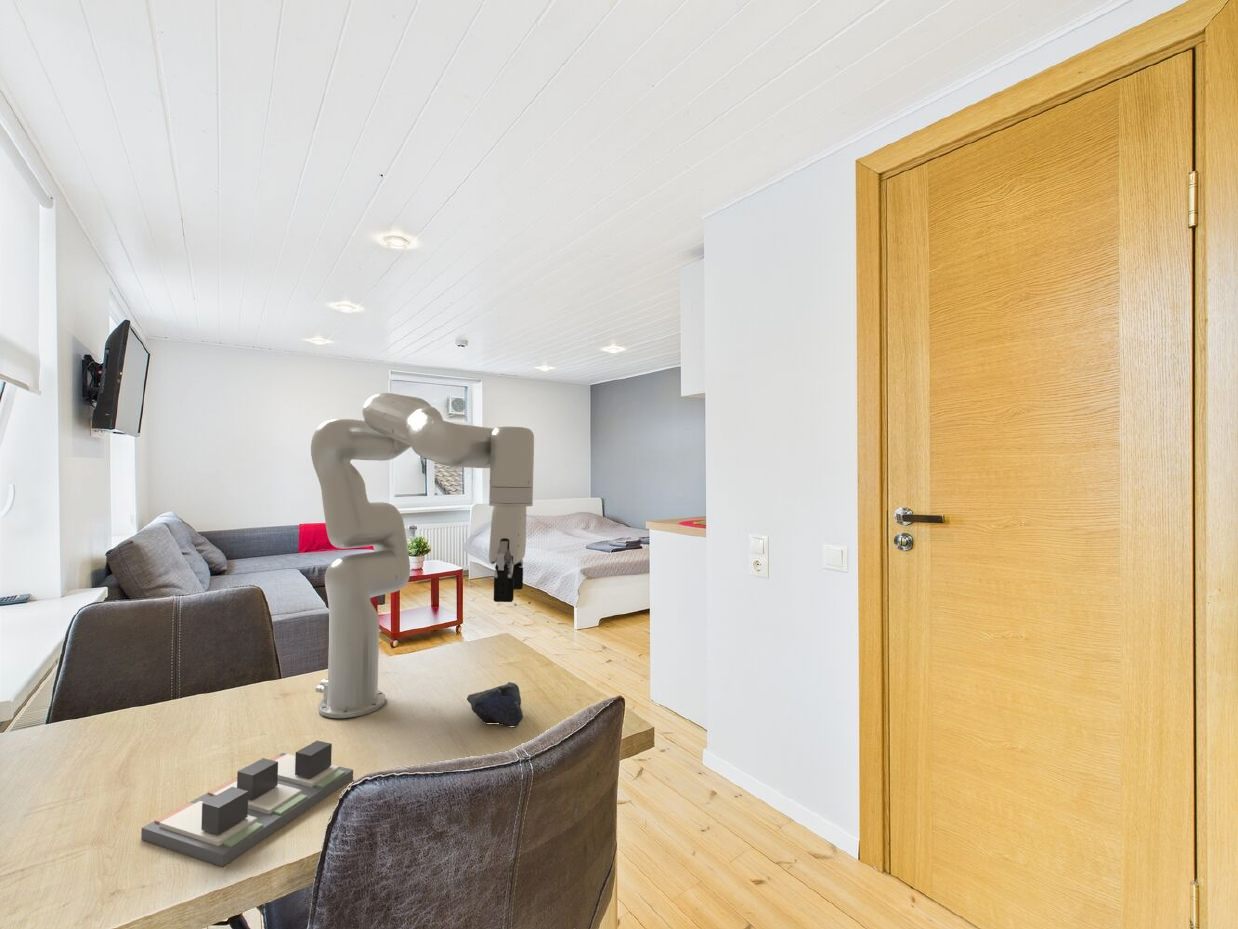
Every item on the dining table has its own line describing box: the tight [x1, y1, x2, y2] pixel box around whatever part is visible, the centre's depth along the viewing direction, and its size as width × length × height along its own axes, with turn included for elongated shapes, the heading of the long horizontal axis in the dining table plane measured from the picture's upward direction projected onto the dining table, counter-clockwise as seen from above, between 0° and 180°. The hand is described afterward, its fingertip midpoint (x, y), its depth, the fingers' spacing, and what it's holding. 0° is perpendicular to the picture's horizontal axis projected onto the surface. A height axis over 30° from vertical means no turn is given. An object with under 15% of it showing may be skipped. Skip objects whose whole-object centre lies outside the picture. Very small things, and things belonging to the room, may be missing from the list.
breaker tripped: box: [236, 757, 278, 800], centre depth 81 cm, size 3×4×4 cm
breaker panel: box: [140, 752, 354, 868], centre depth 81 cm, size 15×21×2 cm
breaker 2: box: [294, 740, 333, 779], centre depth 87 cm, size 3×4×4 cm
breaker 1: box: [201, 787, 248, 835], centre depth 74 cm, size 3×4×4 cm
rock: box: [466, 681, 524, 727], centre depth 111 cm, size 16×8×10 cm
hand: (508, 595), depth 97 cm, fingers open, 9 cm apart
